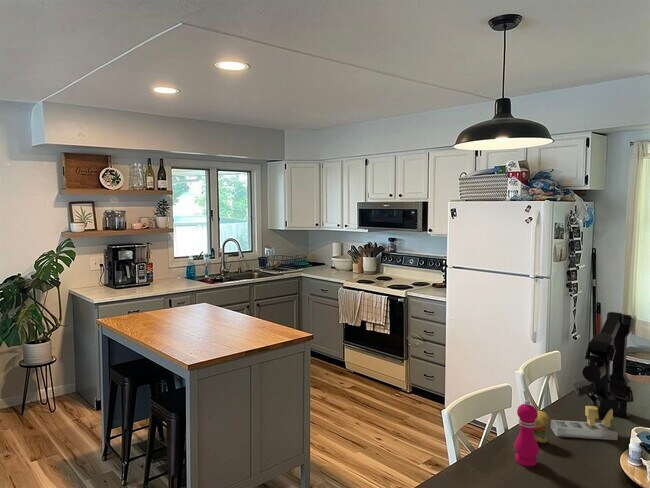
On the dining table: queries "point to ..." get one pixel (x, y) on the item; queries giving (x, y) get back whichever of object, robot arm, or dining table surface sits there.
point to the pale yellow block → (593, 413)
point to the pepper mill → (526, 435)
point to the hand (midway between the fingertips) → (598, 418)
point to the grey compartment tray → (583, 430)
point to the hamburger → (541, 427)
